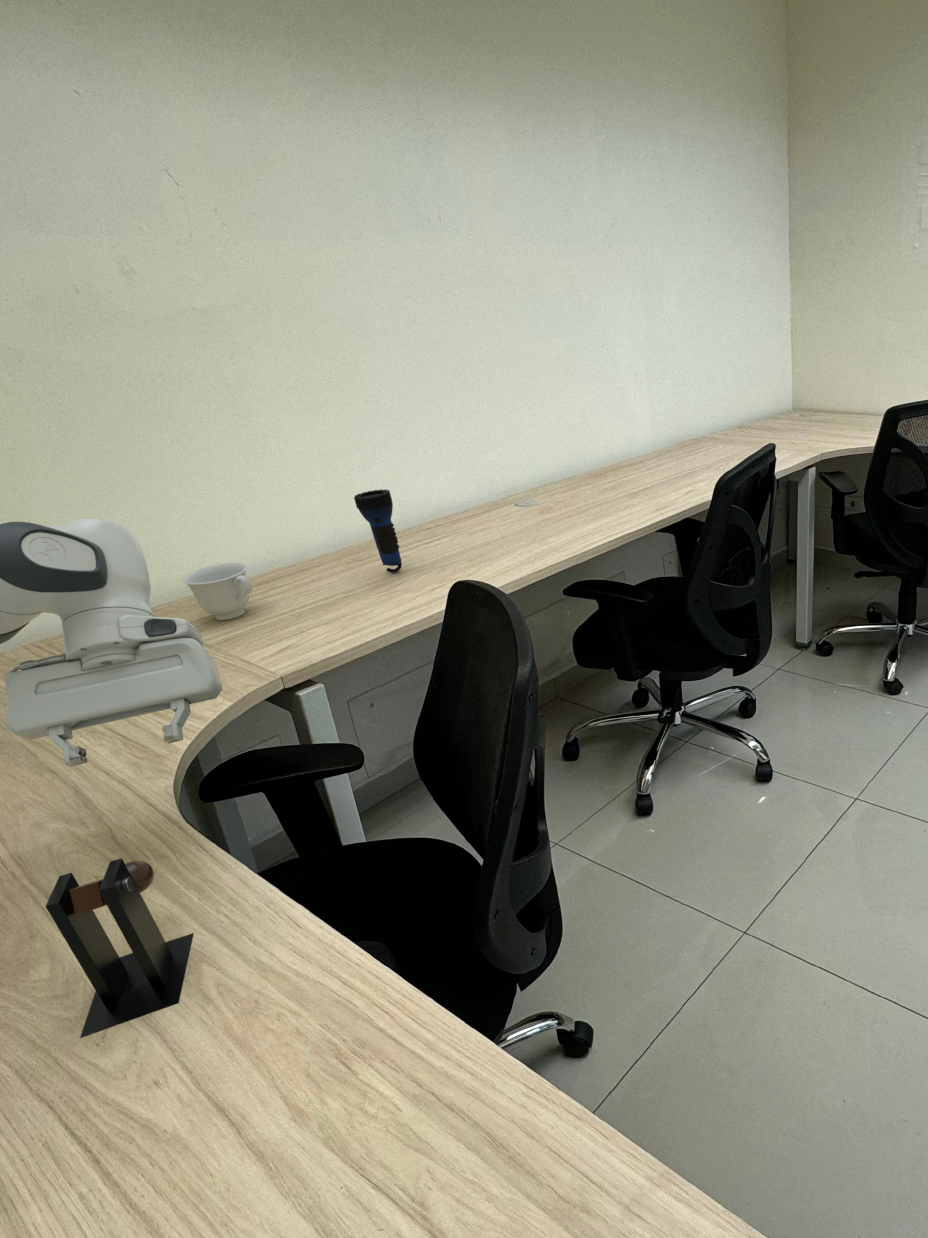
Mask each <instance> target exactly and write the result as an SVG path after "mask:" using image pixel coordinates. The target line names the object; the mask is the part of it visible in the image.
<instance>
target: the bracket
mask: <svg viewBox="0 0 928 1238" xmlns="http://www.w3.org/2000/svg"><path fill="white" fill-rule="evenodd" d="M125 863H126V862H124V859H123V858H122V857H121V858H117V859H114V860H110V861H109V863H108V866H107V867H106V871H105V874H104V876H103V878H102V879H103V881H102V884H101V886H100V889H99V892H100V894H101V896H102V897H103V899H104V901H105V903H106V905H105V906H107V909H108V910H109V912H110V914H111V916H112V918H113V919H114V921H115V923H116V924H117V926H118V928H119V930H120V933H121V934H122V935H123V937H124V939H125V941H126V943H127V945H128V947H129V948H130V950H131V952H130V953H128V954H125V955H121V956H119V954H118V952H117V950H116V949H115V947H114V944H113V943H112V942H111V939H110V938H109V937H108V934H107V933H106V931H105V929H104V928H103V926H102V924H101V922H100V920H99V918H98V917H97V915H96V913H95V911H94V909H93V910H90V911H87V912H83V913H80V914H77V915H75V912H74V907H73V903H72V899H71V895H70V890H71V889H73V888H76V887H78V886H80V885H79V882H78V881H77V879H76V877H75V876H74V874H73V872H69V873H65V874H61V875H60V876H58V878H57V880H56V881H55V884H54V887H53V889H52V891H51V893H50V896H49V897H48V900H47V902H46V904H45V908H46V910H47V912H48V914H49V915H50V917H51V919H52V920H53V922H54V924H55V925H56V927H57V929H58V930H59V932H60V933H61V935H62V937H63V939H64V940H65V942H66V944H67V945H68V947H69V948H70V951H71V952H72V953H73V955H74V957H75V958H76V961H77V962H78V963H79V965H80V967H81V969H82V970H83V972H84V974H85V976H86V977H87V979H88V981H89V982H90V984H91V985H92V987H93V989H94V990H95V992H94V994H93V998H92V1000H91V1004H90V1006H89V1010H88V1013H87V1016H86V1019H85V1022H84V1025H83V1028H82V1031H81V1033H80V1036H79V1039H82V1038H86V1037H88V1036H92V1035H93V1034H96V1033H100V1032H102V1031H105V1030H107V1029H111V1028H114V1027H116V1026H119V1025H121V1024H124V1023H127V1022H130V1021H133V1020H135V1019H138V1018H141V1017H144V1016H146V1015H150V1014H153V1013H156V1012H158V1011H162V1010H164V1009H166V1008H169V1007H173V1006H176V1005H178V1004H180V999H181V994H182V991H183V986H184V981H185V977H186V973H187V967H188V962H189V958H190V954H191V953H190V952H191V949H192V943H193V939H194V935H195V934H194V932H192V933H189V934H186V935H183V936H180V937H176V938H173V939H170V940H168V941H166V940H165V938H164V935H162V934H163V933H162V932H161V930H160V928H159V927H158V925H157V923H156V921H155V919H154V917H153V915H152V913H151V911H150V909H149V907H148V906H147V904H146V902H145V900H144V898H143V896H142V894H141V893H140V892H139V890H138V888H137V886H136V884H135V882H134V881H133V879H132V877H131V875H130V873H129V871H128V869H127V867H126V865H125Z"/></svg>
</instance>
